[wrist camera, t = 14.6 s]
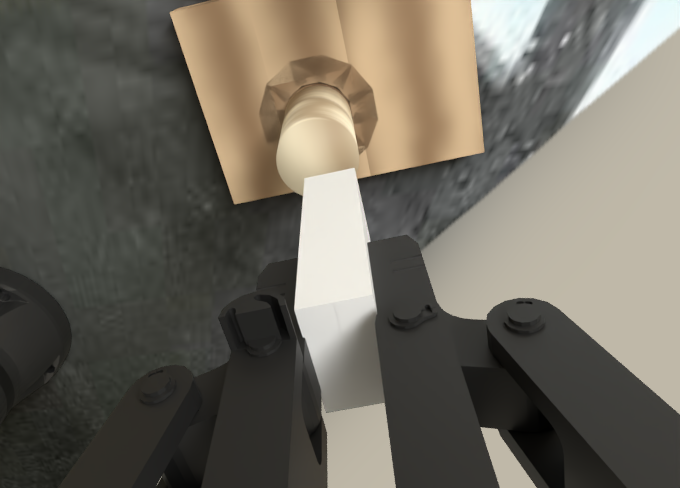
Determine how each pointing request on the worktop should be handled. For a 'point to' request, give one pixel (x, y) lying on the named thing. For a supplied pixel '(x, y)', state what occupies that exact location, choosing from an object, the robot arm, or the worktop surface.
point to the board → (333, 79)
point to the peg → (316, 135)
